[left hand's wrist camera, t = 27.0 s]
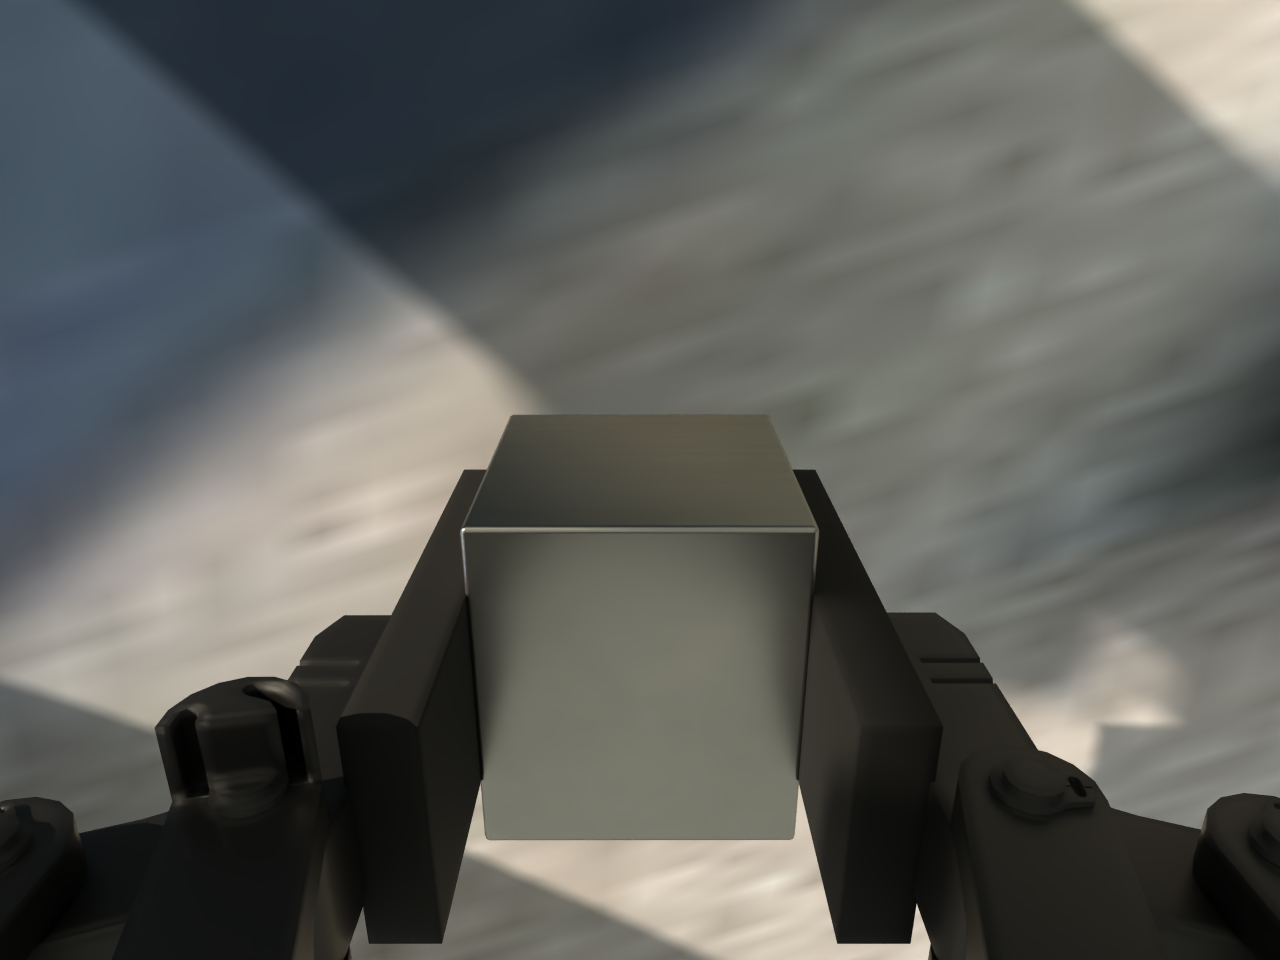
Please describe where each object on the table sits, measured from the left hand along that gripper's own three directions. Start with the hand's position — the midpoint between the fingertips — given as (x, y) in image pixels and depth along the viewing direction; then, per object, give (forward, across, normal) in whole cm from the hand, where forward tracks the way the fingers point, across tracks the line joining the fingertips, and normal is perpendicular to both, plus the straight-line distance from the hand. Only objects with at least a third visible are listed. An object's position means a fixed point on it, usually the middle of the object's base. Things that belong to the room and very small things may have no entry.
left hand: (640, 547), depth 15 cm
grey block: (0, 0, 0) cm, 0 cm away
